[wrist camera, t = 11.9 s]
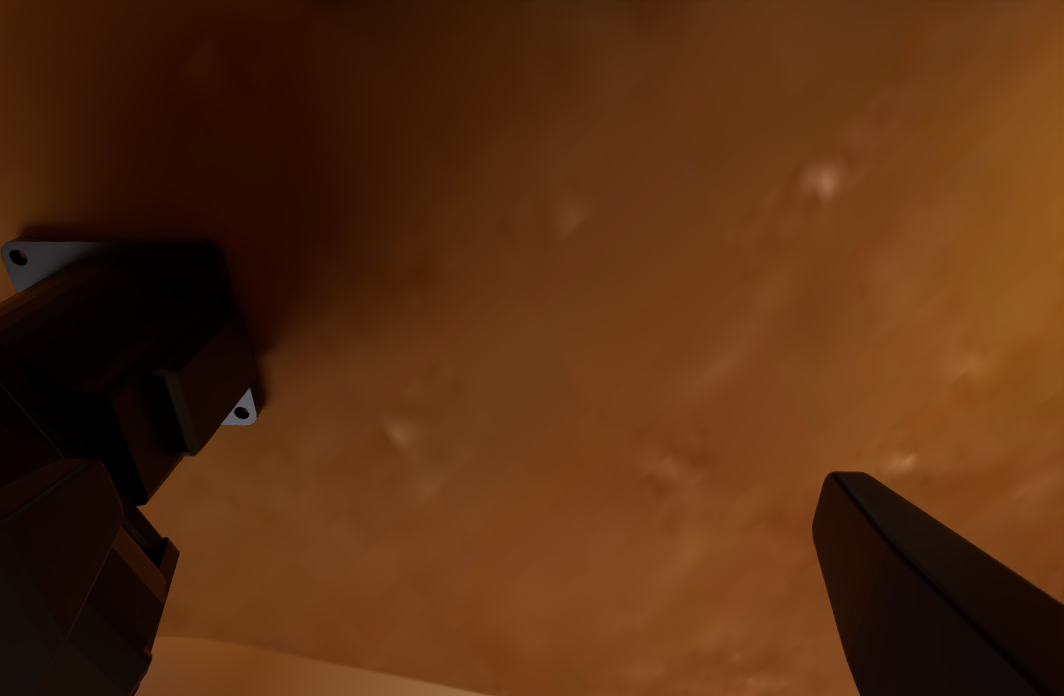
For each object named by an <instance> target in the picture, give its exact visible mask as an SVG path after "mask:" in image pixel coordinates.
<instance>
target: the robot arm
mask: <svg viewBox="0 0 1064 696" xmlns="http://www.w3.org/2000/svg"><path fill="white" fill-rule="evenodd" d="M19 251H21V252H22V253H24V254H25V256H26V257H27V260H26V259H24V258H23V257H22V256H21V254H20V252H19ZM198 251H202V252H204V253H205V254H206V255H207V256H208V258H209V262H206V261H203V260H202V259H201V258H200V257H199V255H198ZM1 256H2V259H3V261H4V264H5V266H6V268H7V271H8V273H9V275H10V278H11V280H12V282H13V285H14V287H15V290H16V292H17V294H15V295H14V296H12V297H10V298H8V299H6V300H5V301H3V302H1V303H0V696H134V694H135V693H136V691H137V690H138V688H139V685H140V683H141V681H142V680H143V678H144V677H145V675H146V674H147V672H148V670H149V667H150V664H151V661H152V654H151V650H152V647H153V643H154V640H155V636H156V633H157V630H158V626H159V623H160V619H161V616H162V612H163V609H164V606H165V602H166V599H167V595H168V592H169V588H170V585H171V581H172V578H173V575H174V571H175V568H176V564H177V561H178V557H179V551H178V549H177V548H176V547H175V546H174V545H173V543H172V542H171V541H170V540H169V538H167V537H164V538H162V537H161V535H160V534H159V533H158V532H157V531H156V529H155V528H154V527H153V526H152V525H151V523H150V522H149V521H148V520H147V519H146V517H145V516H144V515H143V514H142V513H141V511H140V510H139V509H138V508H137V506H141V505H145V504H146V503H147V502H148V501H149V500H150V498H151V497H152V496H153V495H154V493H155V492H156V491H157V490H158V489H159V487H160V486H161V485H162V484H163V482H164V481H165V480H166V479H167V477H168V476H169V475H170V474H171V472H172V471H173V470H174V469H175V467H176V466H177V465H178V464H179V462H180V461H181V460H182V459H183V457H184V456H195V455H197V454H198V453H199V452H200V451H201V450H202V448H203V447H204V446H205V445H206V443H207V442H208V441H209V440H210V438H211V437H212V436H213V434H214V433H215V432H216V430H217V429H218V428H219V427H220V425H249V424H252V423H253V422H254V421H255V420H256V419H257V417H258V416H259V414H260V412H261V404H260V400H259V396H258V392H257V388H256V384H255V380H256V379H257V376H258V375H257V371H256V367H255V363H254V359H253V355H252V350H251V346H250V342H249V338H248V334H247V330H246V326H245V322H244V318H243V314H242V311H241V310H240V309H239V308H238V307H237V306H236V304H235V300H234V296H233V292H232V288H231V284H230V280H229V276H228V272H227V268H226V264H225V260H224V256H223V253H222V251H221V249H220V247H219V246H218V245H217V244H216V243H215V242H213V241H211V240H209V239H204V238H79V237H20V238H16V239H13V240H11V241H9V242H7V243H5V244H4V245H3V246H2V248H1ZM240 407H244V408H245V409H247V410H248V412H249V413H248V412H244V411H243V410H241V409H240ZM812 534H813V541H814V545H815V548H816V552H817V556H818V559H819V563H820V567H821V570H822V574H823V578H824V581H825V585H826V589H827V592H828V596H829V600H830V603H831V607H832V610H833V614H834V618H835V621H836V625H837V629H838V632H839V636H840V640H841V643H842V646H843V650H844V653H845V656H846V660H847V662H848V665H849V668H850V671H851V673H852V676H853V679H854V682H855V684H856V687H857V689H858V692H859V694H860V696H1064V604H1062V603H1061V602H1059V601H1058V600H1056V599H1055V598H1053V597H1052V596H1050V595H1049V594H1047V593H1046V592H1044V591H1043V590H1041V589H1040V588H1038V587H1037V586H1035V585H1034V584H1032V583H1031V582H1029V581H1028V580H1026V579H1025V578H1023V577H1022V576H1020V575H1019V574H1017V573H1016V572H1014V571H1013V570H1011V569H1010V568H1008V567H1007V566H1005V565H1004V564H1002V563H1001V562H999V561H998V560H996V559H995V558H993V557H992V556H990V555H989V554H987V553H986V552H984V551H983V550H981V549H980V548H978V547H977V546H975V545H974V544H972V543H971V542H969V541H968V540H966V539H965V538H963V537H962V536H960V535H959V534H957V533H956V532H954V531H953V530H951V529H950V528H948V527H947V526H945V525H944V524H942V523H941V522H939V521H938V520H936V519H935V518H933V517H932V516H930V515H929V514H927V513H926V512H924V511H923V510H921V509H920V508H918V507H917V506H915V505H914V504H912V503H911V502H909V501H908V500H906V499H905V498H903V497H902V496H900V495H899V494H897V493H896V492H894V491H893V490H891V489H890V488H888V487H887V486H885V485H884V484H882V483H881V482H879V481H878V480H876V479H875V478H873V477H872V476H870V475H868V474H866V473H864V472H845V471H834V472H831V473H829V474H828V475H827V476H826V478H825V480H824V483H823V486H822V490H821V493H820V497H819V501H818V504H817V508H816V512H815V515H814V519H813V525H812Z"/></svg>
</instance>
